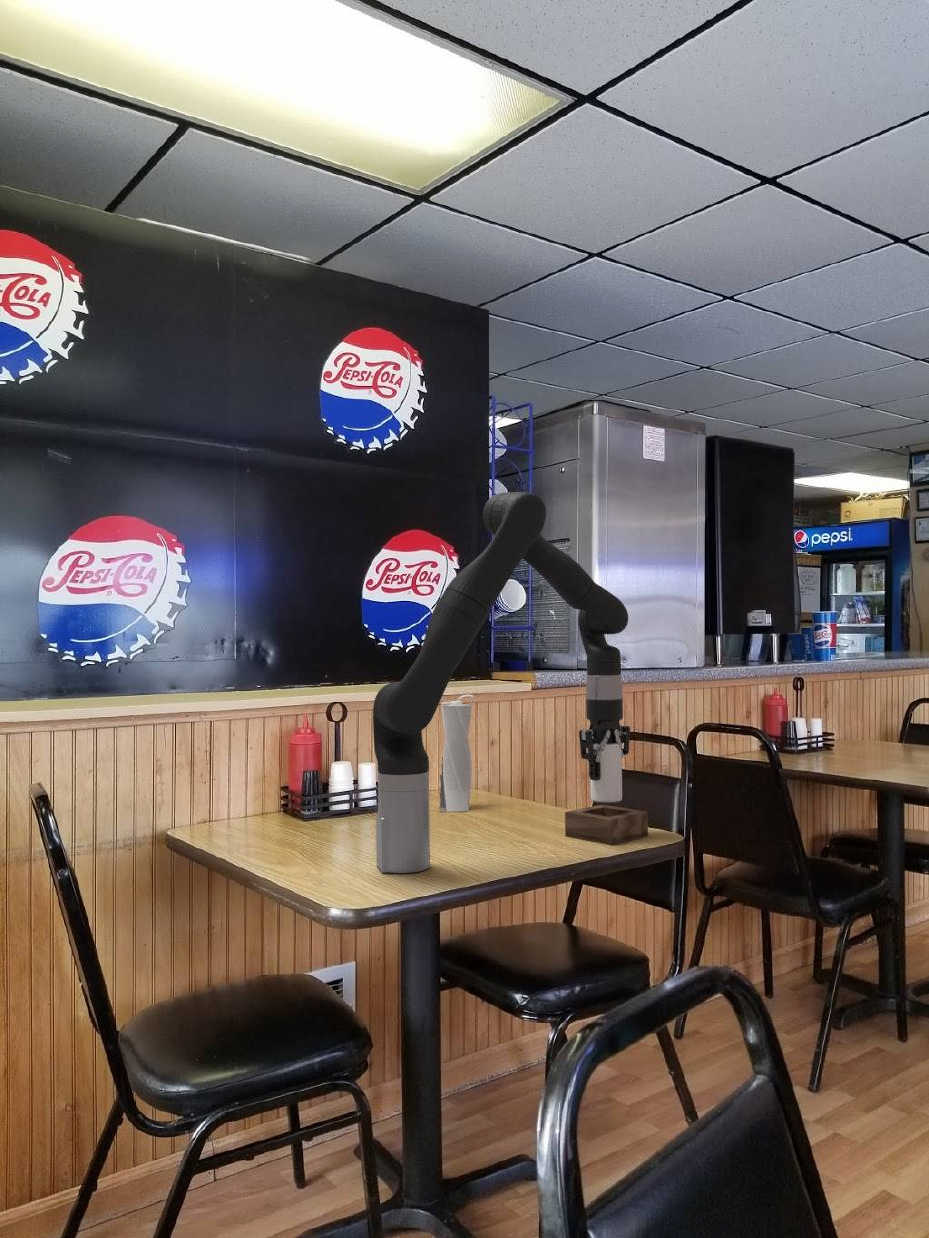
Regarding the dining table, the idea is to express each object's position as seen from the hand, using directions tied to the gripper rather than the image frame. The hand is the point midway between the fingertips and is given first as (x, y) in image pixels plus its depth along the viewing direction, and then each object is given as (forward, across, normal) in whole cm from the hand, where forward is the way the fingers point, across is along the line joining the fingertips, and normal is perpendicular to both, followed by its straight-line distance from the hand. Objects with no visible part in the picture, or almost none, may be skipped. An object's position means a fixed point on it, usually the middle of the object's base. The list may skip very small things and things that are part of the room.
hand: (605, 777), depth 192 cm
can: (+5, 0, 0) cm, 5 cm away
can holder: (+12, 0, 0) cm, 12 cm away
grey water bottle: (+12, -1, +45) cm, 47 cm away
